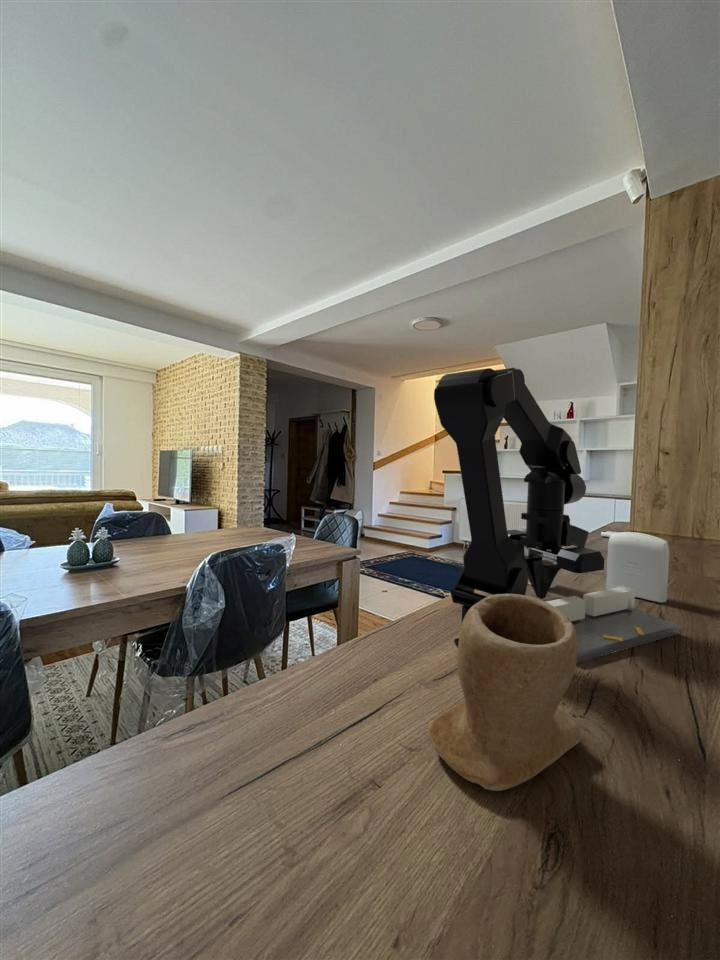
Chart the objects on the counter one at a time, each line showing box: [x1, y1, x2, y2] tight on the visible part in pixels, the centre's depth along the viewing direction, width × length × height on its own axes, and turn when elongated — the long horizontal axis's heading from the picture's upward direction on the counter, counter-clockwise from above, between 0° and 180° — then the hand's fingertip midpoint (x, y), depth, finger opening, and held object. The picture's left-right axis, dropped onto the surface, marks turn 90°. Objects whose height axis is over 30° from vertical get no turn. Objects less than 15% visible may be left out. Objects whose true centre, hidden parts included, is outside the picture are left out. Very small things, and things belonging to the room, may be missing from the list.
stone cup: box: [427, 594, 584, 792], centre depth 39 cm, size 15×12×15 cm
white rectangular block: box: [545, 595, 586, 621], centre depth 65 cm, size 10×2×3 cm, turn 113°
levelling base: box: [571, 607, 680, 665], centre depth 66 cm, size 23×13×3 cm, turn 113°
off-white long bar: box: [582, 586, 636, 616], centre depth 70 cm, size 10×2×3 cm, turn 113°
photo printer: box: [605, 531, 670, 604], centre depth 82 cm, size 10×4×12 cm, turn 39°
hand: (541, 597), depth 72 cm, fingers closed
